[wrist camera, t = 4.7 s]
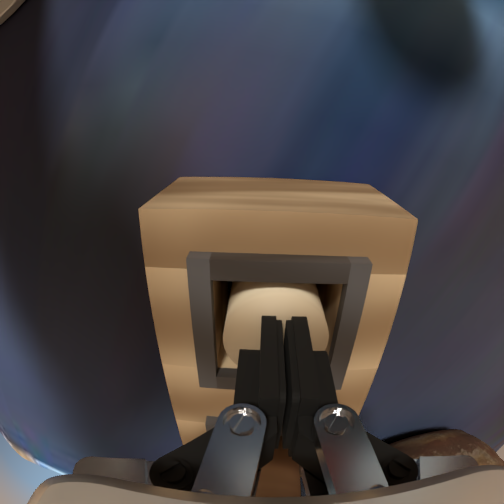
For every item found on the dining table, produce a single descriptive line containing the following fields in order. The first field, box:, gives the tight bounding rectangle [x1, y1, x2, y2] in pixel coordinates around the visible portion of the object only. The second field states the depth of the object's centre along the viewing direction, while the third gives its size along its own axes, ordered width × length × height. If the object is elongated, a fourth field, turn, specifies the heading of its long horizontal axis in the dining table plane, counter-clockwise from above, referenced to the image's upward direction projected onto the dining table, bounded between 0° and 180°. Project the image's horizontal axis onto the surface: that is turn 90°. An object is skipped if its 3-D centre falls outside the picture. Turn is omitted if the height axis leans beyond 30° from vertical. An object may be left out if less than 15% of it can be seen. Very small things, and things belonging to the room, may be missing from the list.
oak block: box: [138, 177, 418, 477], centre depth 17 cm, size 19×10×7 cm, turn 179°
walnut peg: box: [256, 436, 301, 497], centre depth 14 cm, size 4×4×7 cm
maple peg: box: [223, 281, 329, 365], centre depth 14 cm, size 4×4×7 cm
